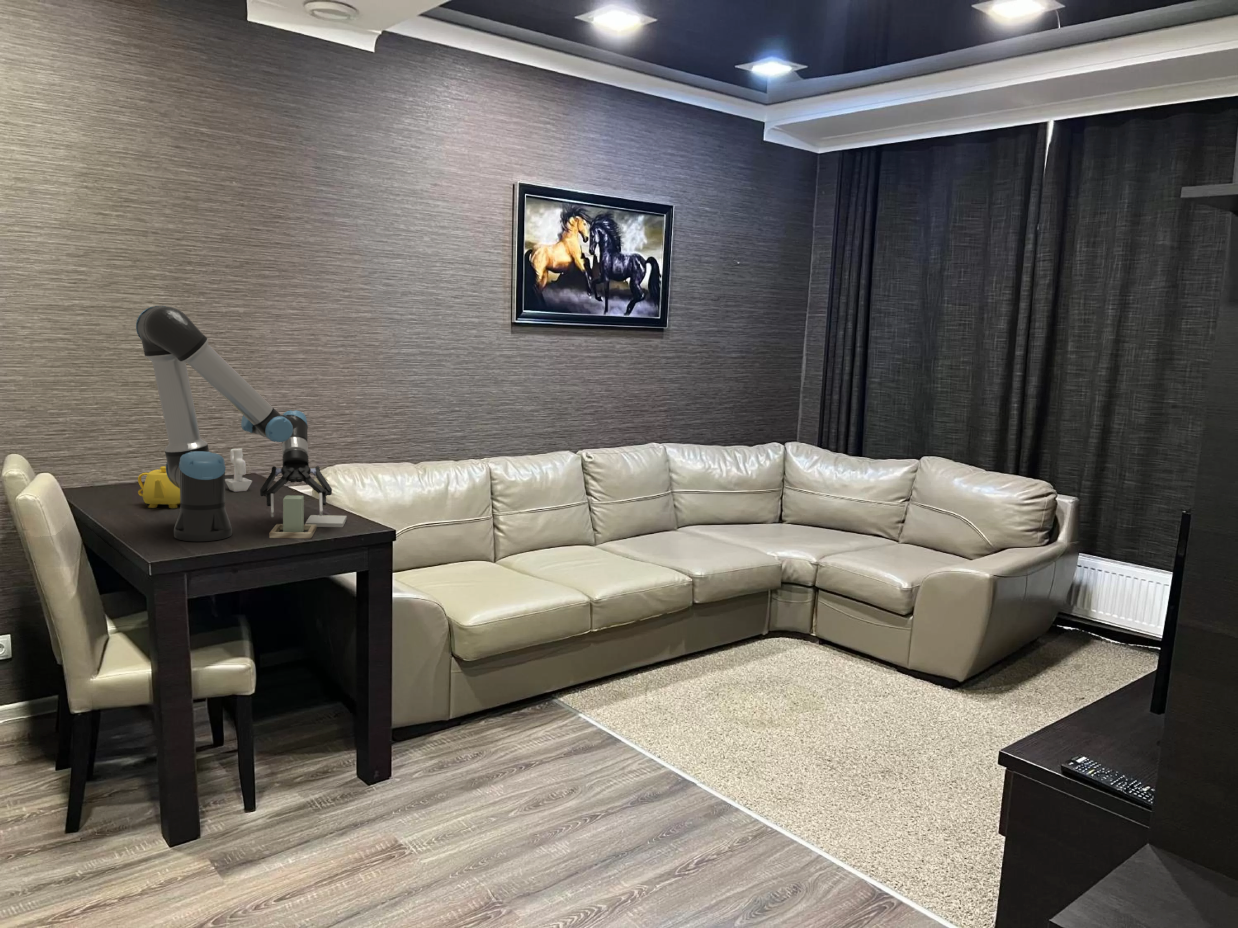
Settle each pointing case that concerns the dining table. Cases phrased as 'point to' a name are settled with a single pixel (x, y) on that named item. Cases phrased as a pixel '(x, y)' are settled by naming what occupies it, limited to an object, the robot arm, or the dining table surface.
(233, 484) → the figurine
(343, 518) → the grey mat
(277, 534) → the board
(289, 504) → the sage block
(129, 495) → the dining table surface
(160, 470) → the teapot
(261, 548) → the dining table surface
